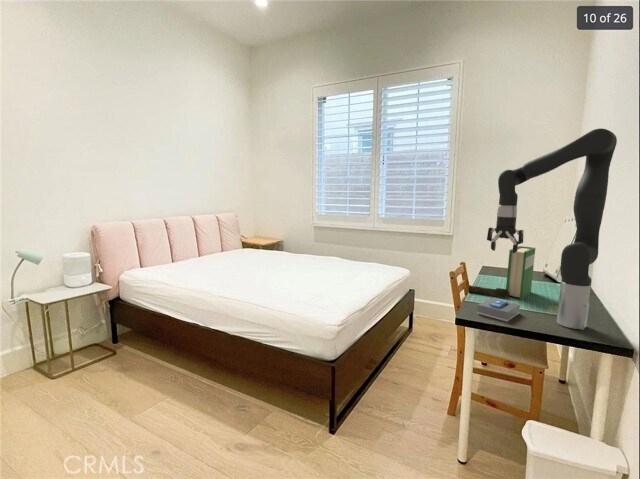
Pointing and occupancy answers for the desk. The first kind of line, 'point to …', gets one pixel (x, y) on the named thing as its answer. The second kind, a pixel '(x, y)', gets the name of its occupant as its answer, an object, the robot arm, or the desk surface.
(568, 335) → the desk surface
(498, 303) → the block
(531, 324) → the desk surface
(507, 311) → the plate
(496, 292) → the hand tool
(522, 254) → the hardback book
